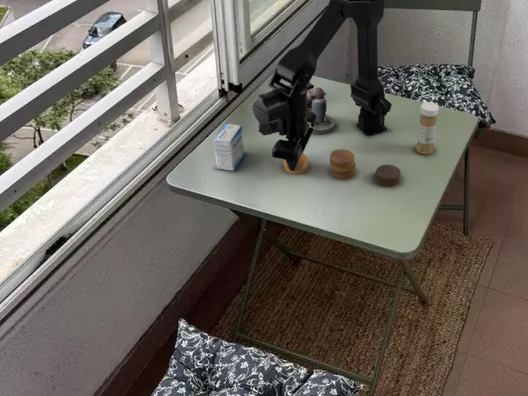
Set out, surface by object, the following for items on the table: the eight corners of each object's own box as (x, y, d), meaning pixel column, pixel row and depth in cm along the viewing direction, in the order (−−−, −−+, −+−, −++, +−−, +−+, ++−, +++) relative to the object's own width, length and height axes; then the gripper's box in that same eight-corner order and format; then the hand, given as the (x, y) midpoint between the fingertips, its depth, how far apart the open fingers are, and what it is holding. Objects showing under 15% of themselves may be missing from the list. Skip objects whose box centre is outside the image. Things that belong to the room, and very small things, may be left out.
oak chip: (300, 157, 174) (300, 149, 173) (312, 169, 170) (312, 161, 169) (279, 164, 171) (279, 156, 170) (290, 176, 167) (290, 168, 166)
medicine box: (233, 171, 168) (231, 142, 162) (216, 168, 168) (213, 139, 163) (244, 154, 174) (242, 125, 169) (227, 151, 175) (225, 122, 169)
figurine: (321, 137, 182) (321, 97, 175) (296, 126, 186) (296, 87, 179) (340, 125, 188) (341, 86, 180) (316, 114, 191) (317, 76, 184)
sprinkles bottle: (432, 145, 182) (437, 101, 173) (433, 155, 178) (439, 110, 170) (414, 145, 181) (419, 100, 173) (416, 155, 178) (421, 110, 170)
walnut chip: (390, 170, 172) (391, 162, 170) (404, 182, 168) (405, 174, 166) (370, 177, 169) (371, 168, 167) (384, 189, 165) (385, 181, 163)
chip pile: (346, 162, 173) (347, 146, 170) (359, 175, 169) (360, 158, 166) (325, 170, 170) (325, 153, 167) (338, 182, 166) (338, 165, 163)
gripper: (273, 86, 169) (275, 139, 179) (248, 123, 154) (252, 179, 164) (317, 92, 168) (317, 145, 177) (296, 131, 153) (297, 186, 162)
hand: (295, 163), depth 170 cm, fingers closed on oak chip, 6 cm apart
